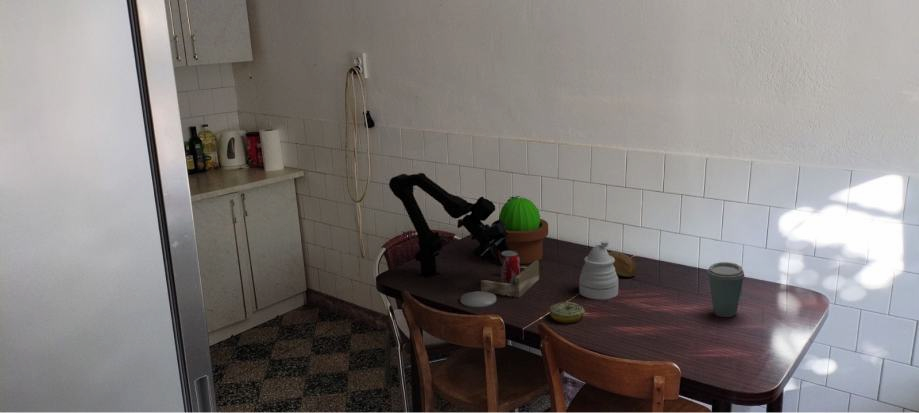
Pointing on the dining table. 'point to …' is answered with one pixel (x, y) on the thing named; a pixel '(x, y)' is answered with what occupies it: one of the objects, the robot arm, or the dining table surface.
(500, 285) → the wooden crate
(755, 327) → the dining table surface
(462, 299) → the saucer
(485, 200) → the robot arm
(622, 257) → the bread roll
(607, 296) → the honey pot
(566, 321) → the decorated donut
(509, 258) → the soda can
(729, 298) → the disposable coffee cup
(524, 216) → the potted cactus
